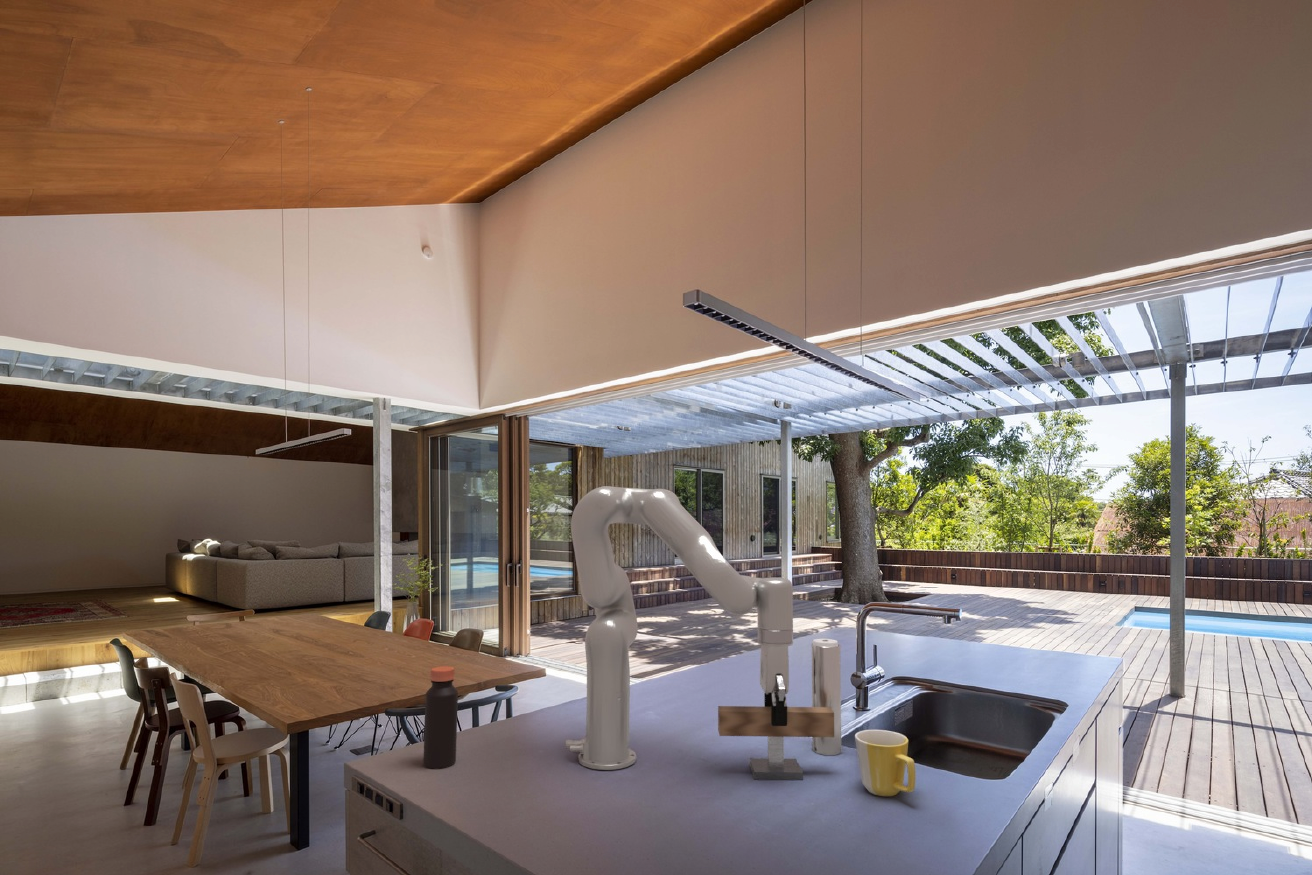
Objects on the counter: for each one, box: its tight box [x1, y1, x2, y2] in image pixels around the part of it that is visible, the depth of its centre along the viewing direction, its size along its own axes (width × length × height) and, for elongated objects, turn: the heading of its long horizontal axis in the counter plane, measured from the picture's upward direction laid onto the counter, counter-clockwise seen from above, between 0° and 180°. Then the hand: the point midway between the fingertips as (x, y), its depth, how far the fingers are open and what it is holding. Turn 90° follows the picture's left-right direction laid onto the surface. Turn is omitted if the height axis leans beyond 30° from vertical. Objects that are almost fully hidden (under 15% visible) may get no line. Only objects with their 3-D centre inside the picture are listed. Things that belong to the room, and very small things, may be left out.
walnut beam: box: [717, 705, 834, 738], centre depth 156 cm, size 24×4×5 cm, turn 90°
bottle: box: [422, 665, 459, 770], centre depth 160 cm, size 7×7×20 cm
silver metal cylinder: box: [811, 638, 842, 756], centre depth 170 cm, size 6×6×25 cm
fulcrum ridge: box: [749, 736, 804, 781], centre depth 156 cm, size 10×8×8 cm
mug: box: [854, 729, 916, 797], centre depth 145 cm, size 14×10×10 cm
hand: (775, 718), depth 156 cm, fingers open, 9 cm apart
